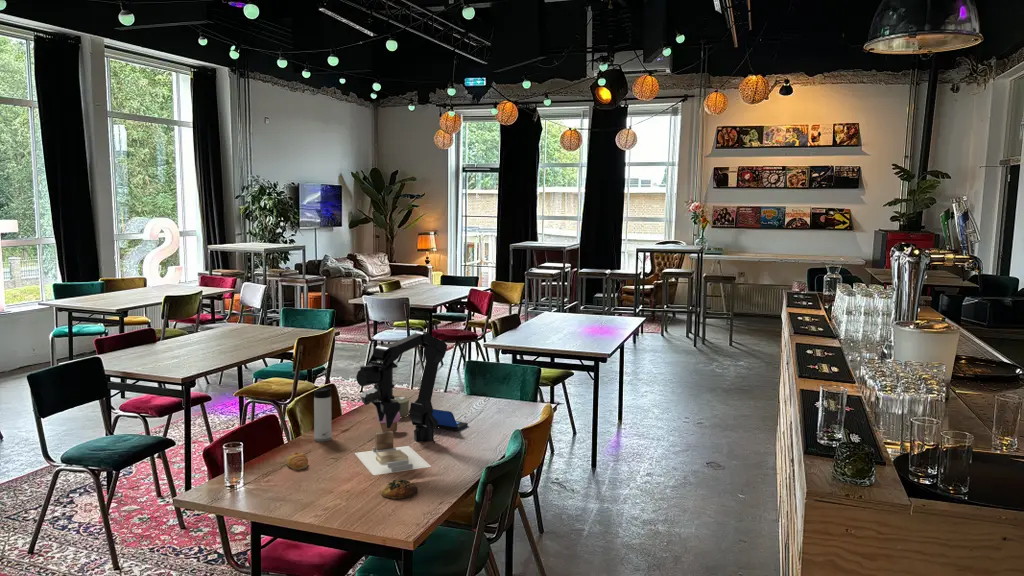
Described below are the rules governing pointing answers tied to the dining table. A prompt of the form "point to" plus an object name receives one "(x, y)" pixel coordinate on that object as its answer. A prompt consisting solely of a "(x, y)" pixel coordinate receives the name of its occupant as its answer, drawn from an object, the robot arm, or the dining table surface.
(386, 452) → the offcut stack
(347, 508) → the dining table surface
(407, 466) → the rack
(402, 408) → the can
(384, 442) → the walnut panel
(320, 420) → the travel mug
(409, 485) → the bread roll
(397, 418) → the cupcake
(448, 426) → the handheld game console
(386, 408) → the robot arm
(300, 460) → the pastry
